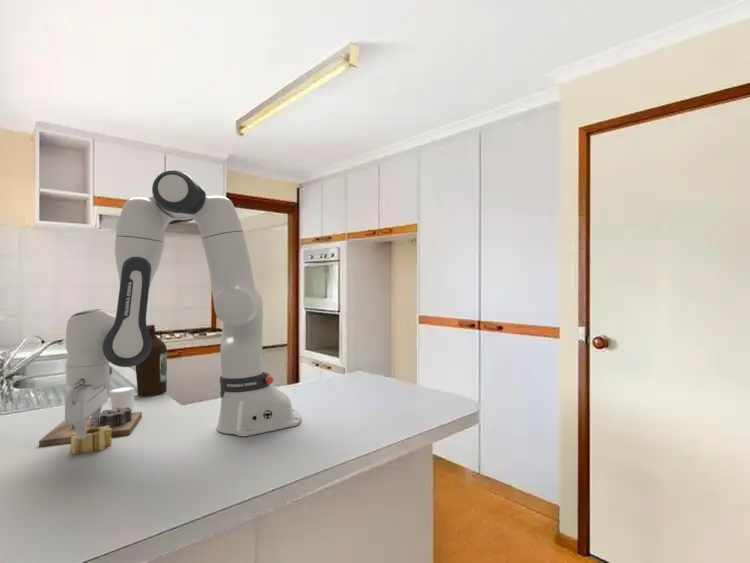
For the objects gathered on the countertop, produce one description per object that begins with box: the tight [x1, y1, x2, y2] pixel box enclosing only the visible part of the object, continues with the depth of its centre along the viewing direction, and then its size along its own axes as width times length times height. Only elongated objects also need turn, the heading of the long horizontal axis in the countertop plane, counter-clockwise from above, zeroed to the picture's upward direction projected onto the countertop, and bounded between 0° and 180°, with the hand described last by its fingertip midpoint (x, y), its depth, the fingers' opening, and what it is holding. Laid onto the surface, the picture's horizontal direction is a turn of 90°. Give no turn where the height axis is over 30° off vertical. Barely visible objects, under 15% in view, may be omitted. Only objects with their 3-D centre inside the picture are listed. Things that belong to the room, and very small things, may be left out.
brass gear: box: [70, 425, 113, 455], centre depth 103 cm, size 8×7×4 cm
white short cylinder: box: [109, 386, 135, 412], centre depth 133 cm, size 7×7×7 cm
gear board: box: [38, 407, 143, 448], centre depth 116 cm, size 20×16×5 cm
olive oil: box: [134, 324, 168, 397], centre depth 154 cm, size 11×11×25 cm
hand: (88, 431), depth 104 cm, fingers open, 8 cm apart
